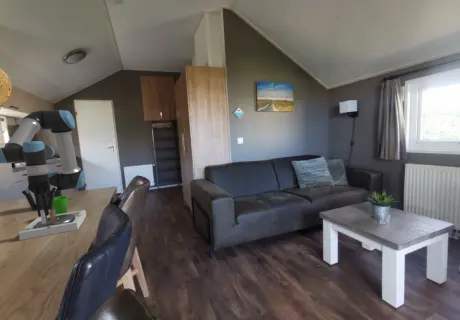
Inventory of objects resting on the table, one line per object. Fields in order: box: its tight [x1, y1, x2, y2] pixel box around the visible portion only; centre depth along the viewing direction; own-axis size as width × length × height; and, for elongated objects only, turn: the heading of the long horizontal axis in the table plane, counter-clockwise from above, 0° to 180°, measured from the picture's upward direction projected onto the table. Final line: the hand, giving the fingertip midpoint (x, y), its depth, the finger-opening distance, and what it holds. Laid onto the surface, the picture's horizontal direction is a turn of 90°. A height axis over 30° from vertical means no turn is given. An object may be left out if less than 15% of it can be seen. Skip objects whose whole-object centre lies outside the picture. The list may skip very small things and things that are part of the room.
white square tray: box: [18, 209, 87, 241], centre depth 114 cm, size 22×22×4 cm
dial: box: [36, 209, 75, 229], centre depth 114 cm, size 16×16×8 cm
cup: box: [51, 195, 69, 215], centre depth 130 cm, size 9×9×11 cm
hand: (44, 222), depth 107 cm, fingers closed
